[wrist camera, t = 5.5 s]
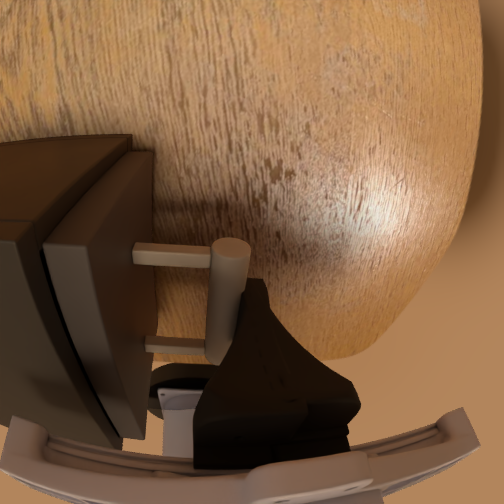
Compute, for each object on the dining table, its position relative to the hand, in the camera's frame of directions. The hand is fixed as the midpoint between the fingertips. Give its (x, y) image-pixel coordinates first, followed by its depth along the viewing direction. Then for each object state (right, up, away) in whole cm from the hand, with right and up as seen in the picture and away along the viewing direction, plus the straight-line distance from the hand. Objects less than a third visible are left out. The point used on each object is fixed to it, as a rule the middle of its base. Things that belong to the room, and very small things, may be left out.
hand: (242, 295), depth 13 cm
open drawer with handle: (-9, +2, +1) cm, 9 cm away
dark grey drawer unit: (-13, +3, +1) cm, 13 cm away
